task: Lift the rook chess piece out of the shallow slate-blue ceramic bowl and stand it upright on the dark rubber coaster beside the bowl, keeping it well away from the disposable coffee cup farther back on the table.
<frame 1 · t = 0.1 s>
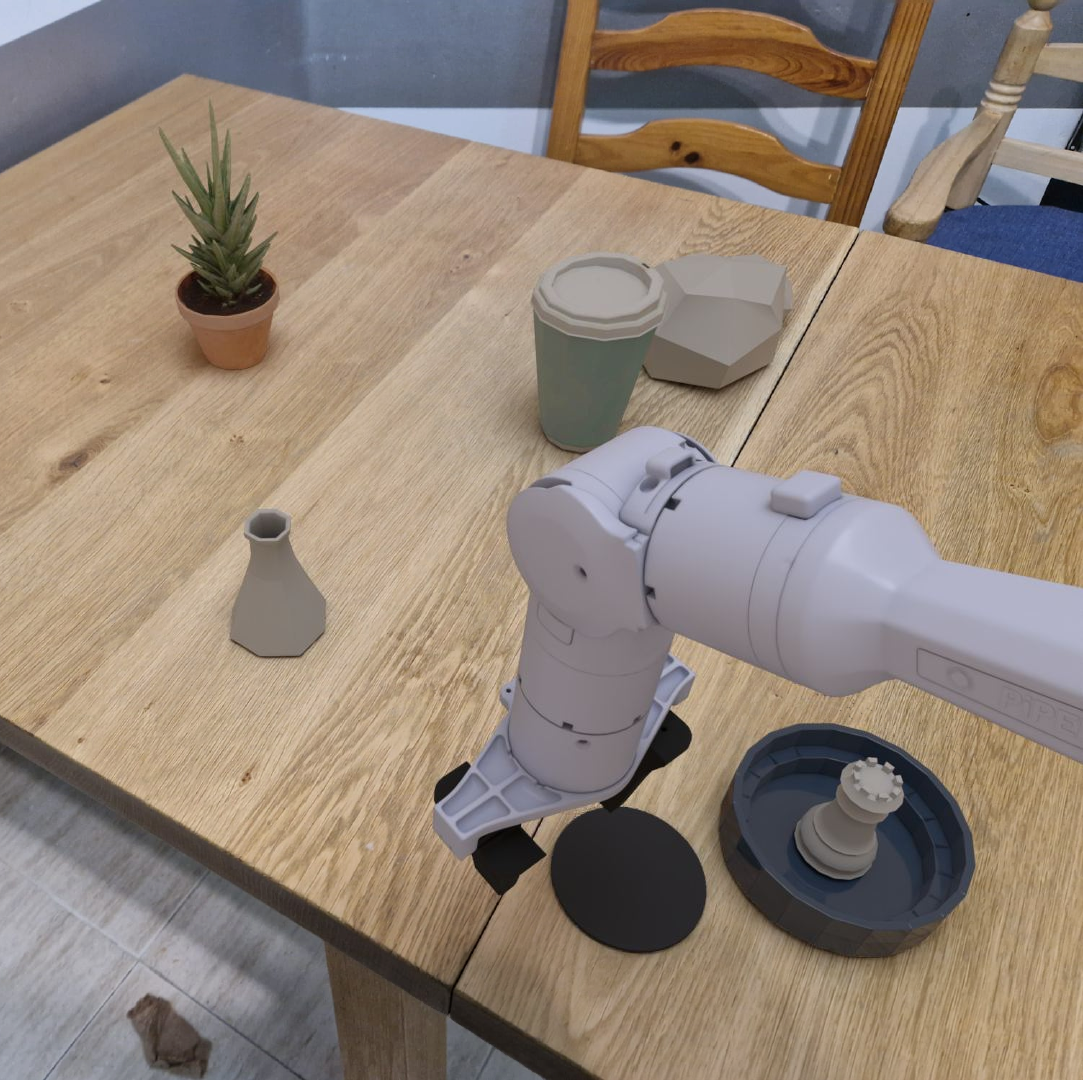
hand: (547, 835, 52), 9 cm above the table, tool pointing down, fingers open, 7 cm apart
coaster: (626, 877, 59), on the table
disposable coffee cup: (575, 430, 89), on the table
bowl: (828, 851, 60), on the table
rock: (709, 341, 98), on the table
potted plant: (237, 354, 98), on the table
rook chess piece: (830, 849, 60), resting on bowl
flask: (278, 622, 74), on the table
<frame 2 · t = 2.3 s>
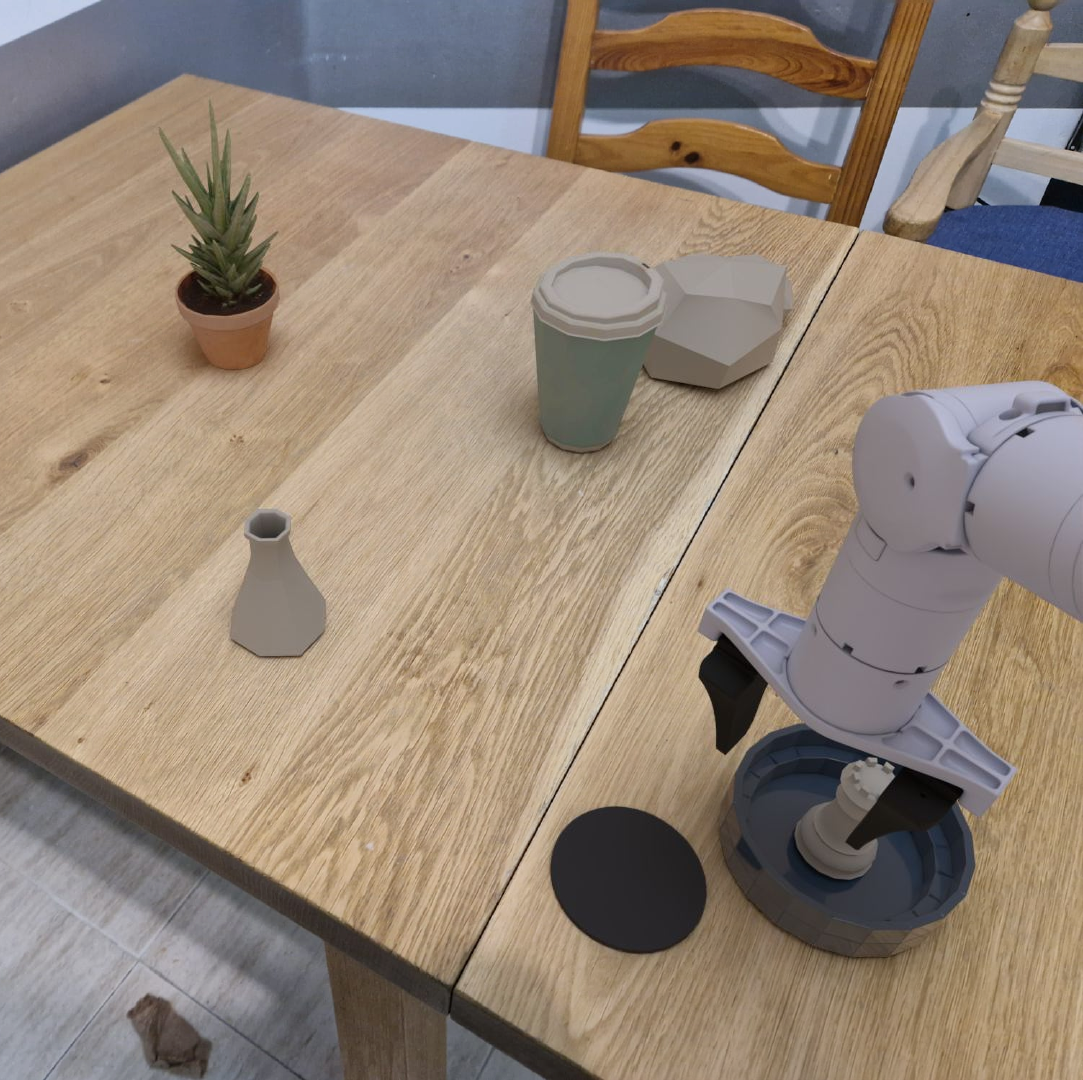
hand: (793, 786, 53), 9 cm above the table, tool pointing down, fingers open, 7 cm apart
nothing on the table moved.
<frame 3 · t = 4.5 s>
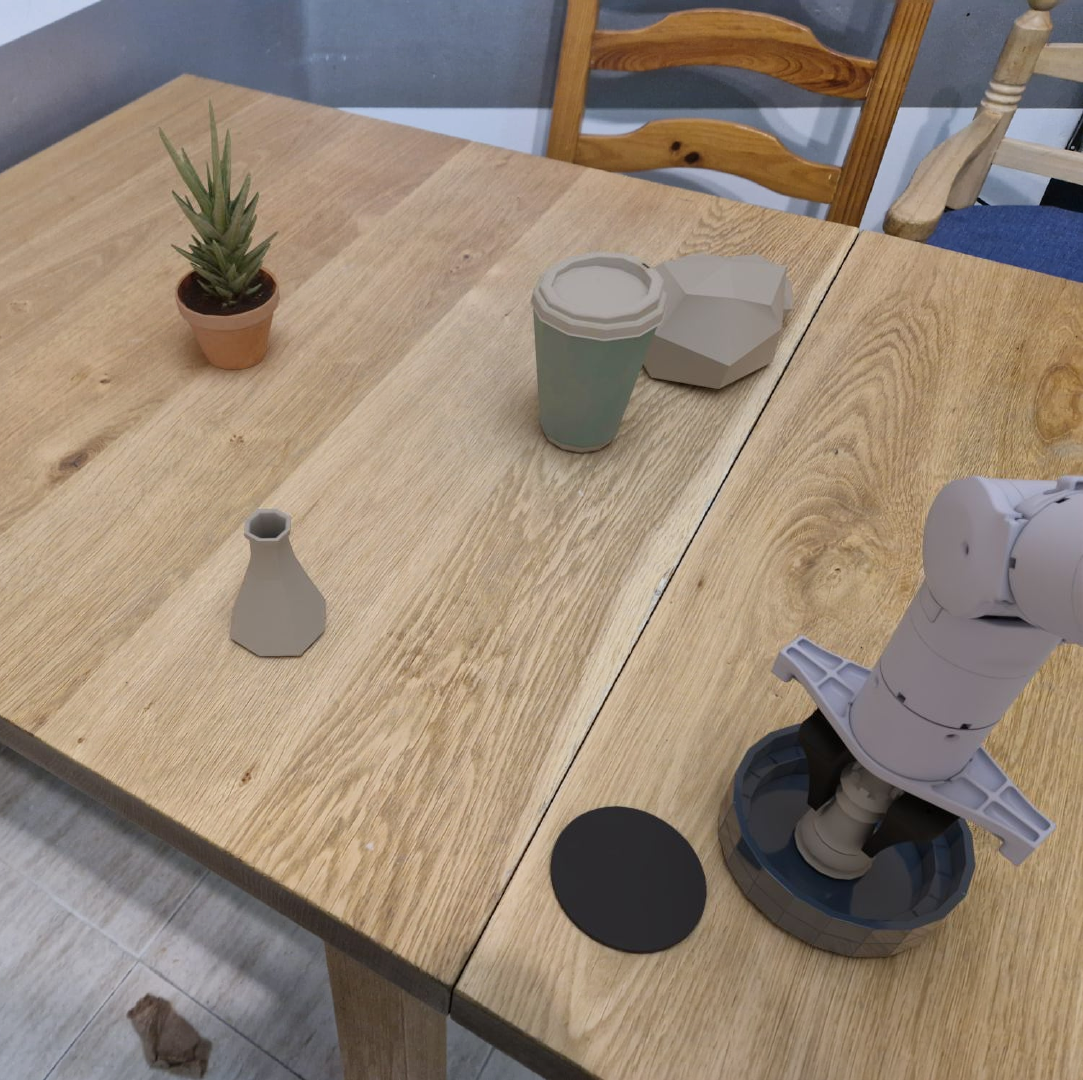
hand: (848, 821, 58), 4 cm above the table, tool pointing down, fingers closed on rook chess piece, 3 cm apart
rook chess piece: (830, 849, 60), resting on bowl, touching gripper
everything else where it was.
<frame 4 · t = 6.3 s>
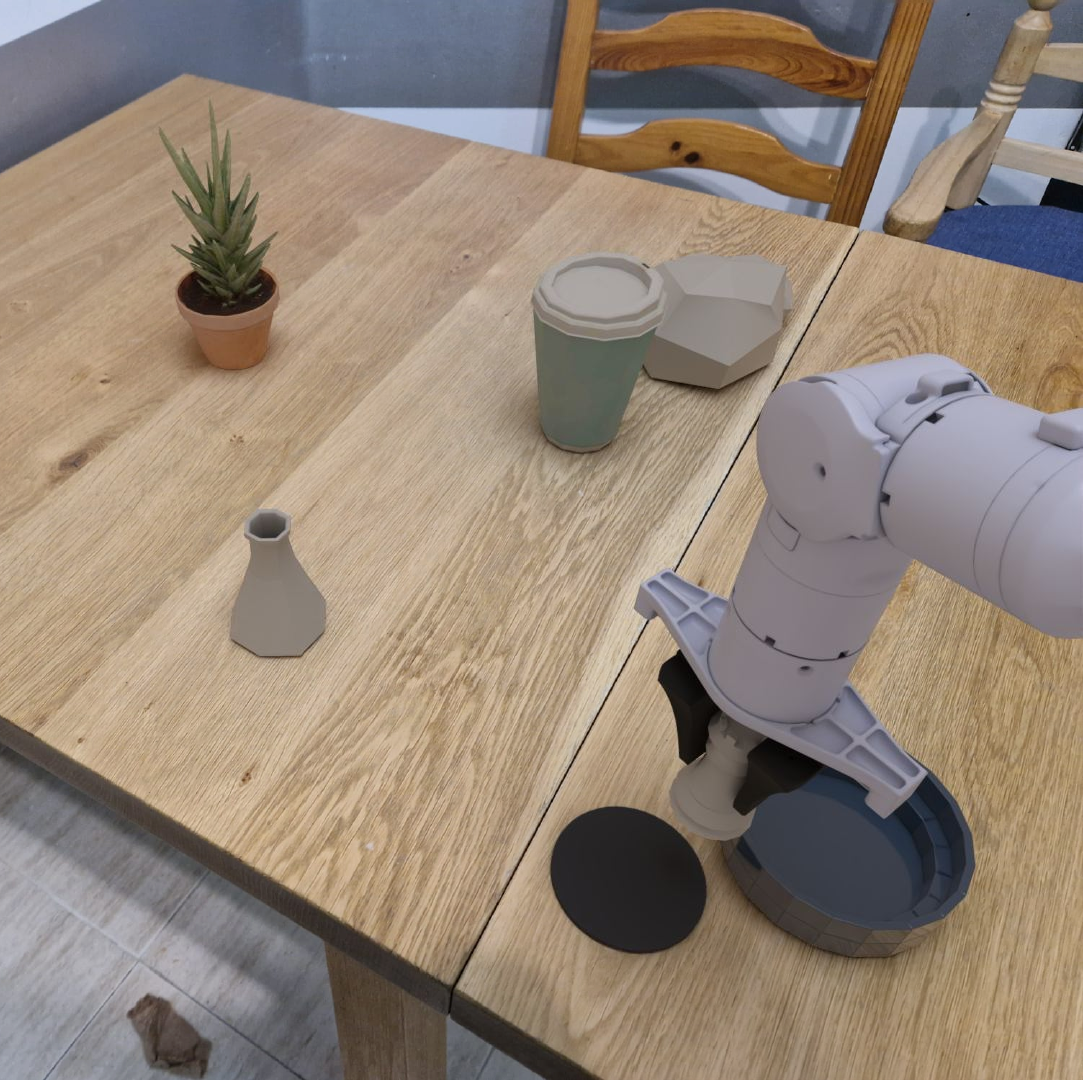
hand: (723, 776, 52), 10 cm above the table, tool pointing down, fingers closed on rook chess piece, 3 cm apart
rook chess piece: (708, 809, 55), point 7 cm above the table, touching gripper
everything else where it was.
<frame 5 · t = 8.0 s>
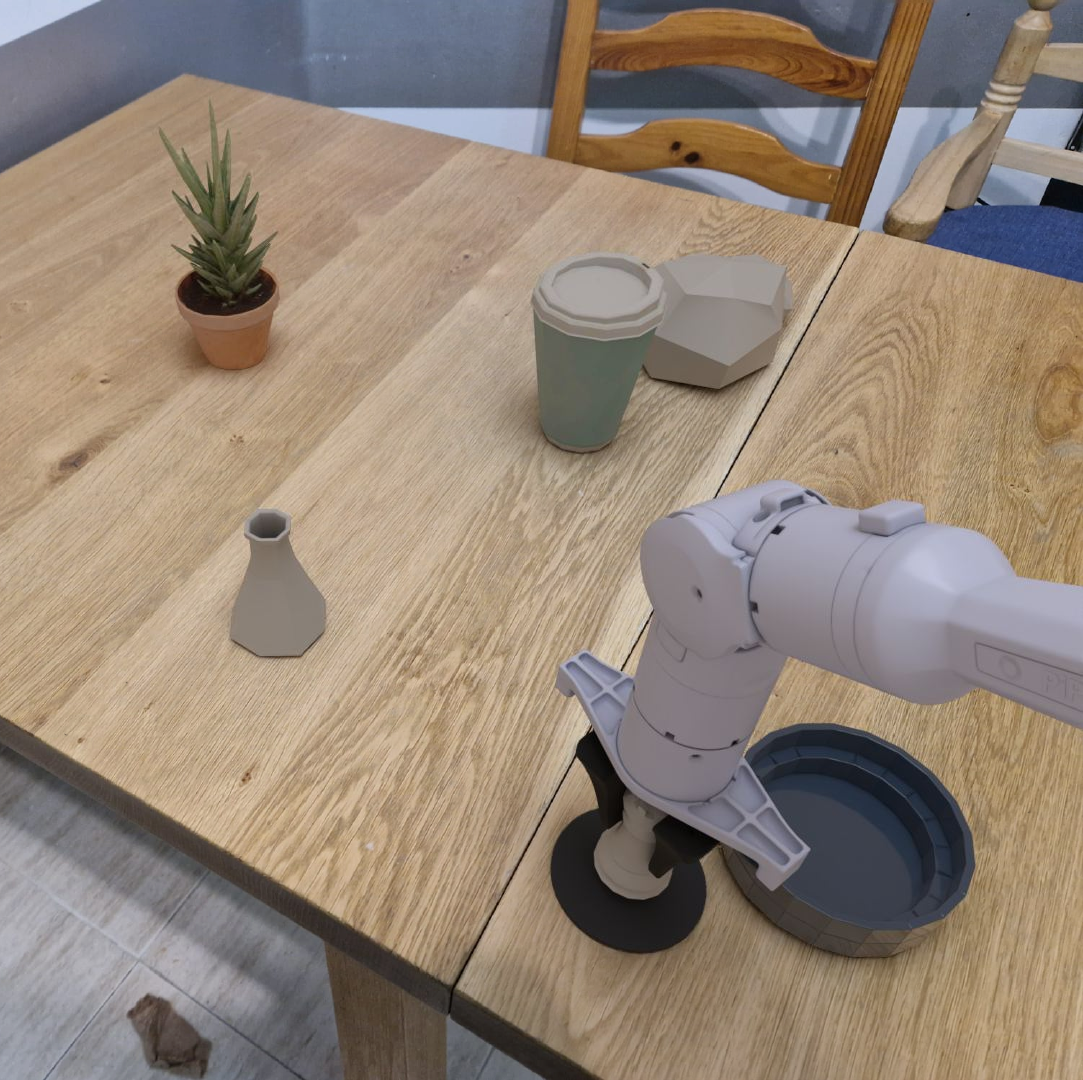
hand: (641, 840, 56), 5 cm above the table, tool pointing down, fingers closed on rook chess piece, 3 cm apart
rook chess piece: (630, 868, 59), point 1 cm above the table, touching gripper
everything else where it was.
when the fingers open (4 cm above the table, at t = 8.6 s): rook chess piece stays where it is, resting on coaster.
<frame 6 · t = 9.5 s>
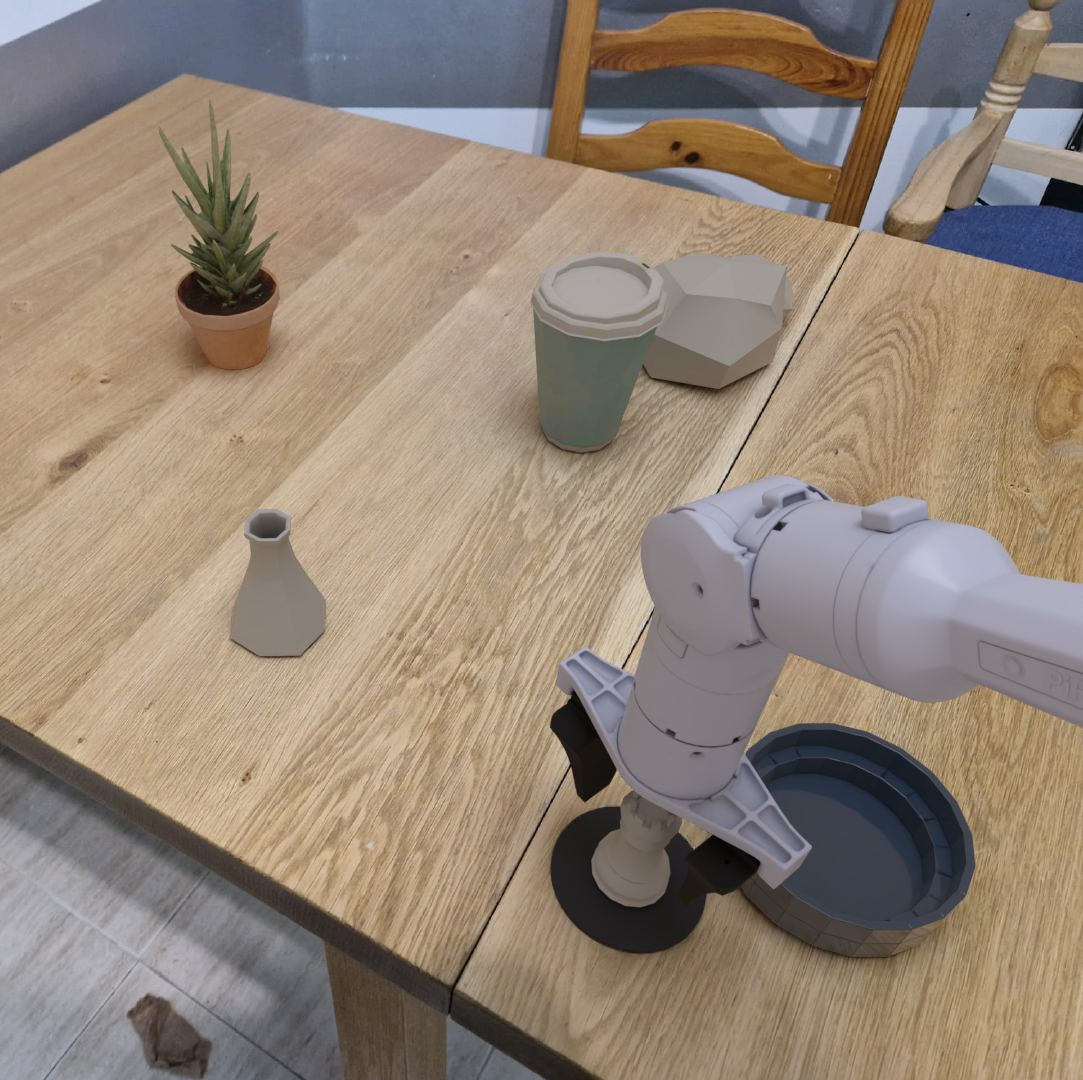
hand: (642, 838, 56), 5 cm above the table, tool pointing down, fingers open, 7 cm apart
rook chess piece: (627, 875, 59), resting on coaster
everything else where it was.
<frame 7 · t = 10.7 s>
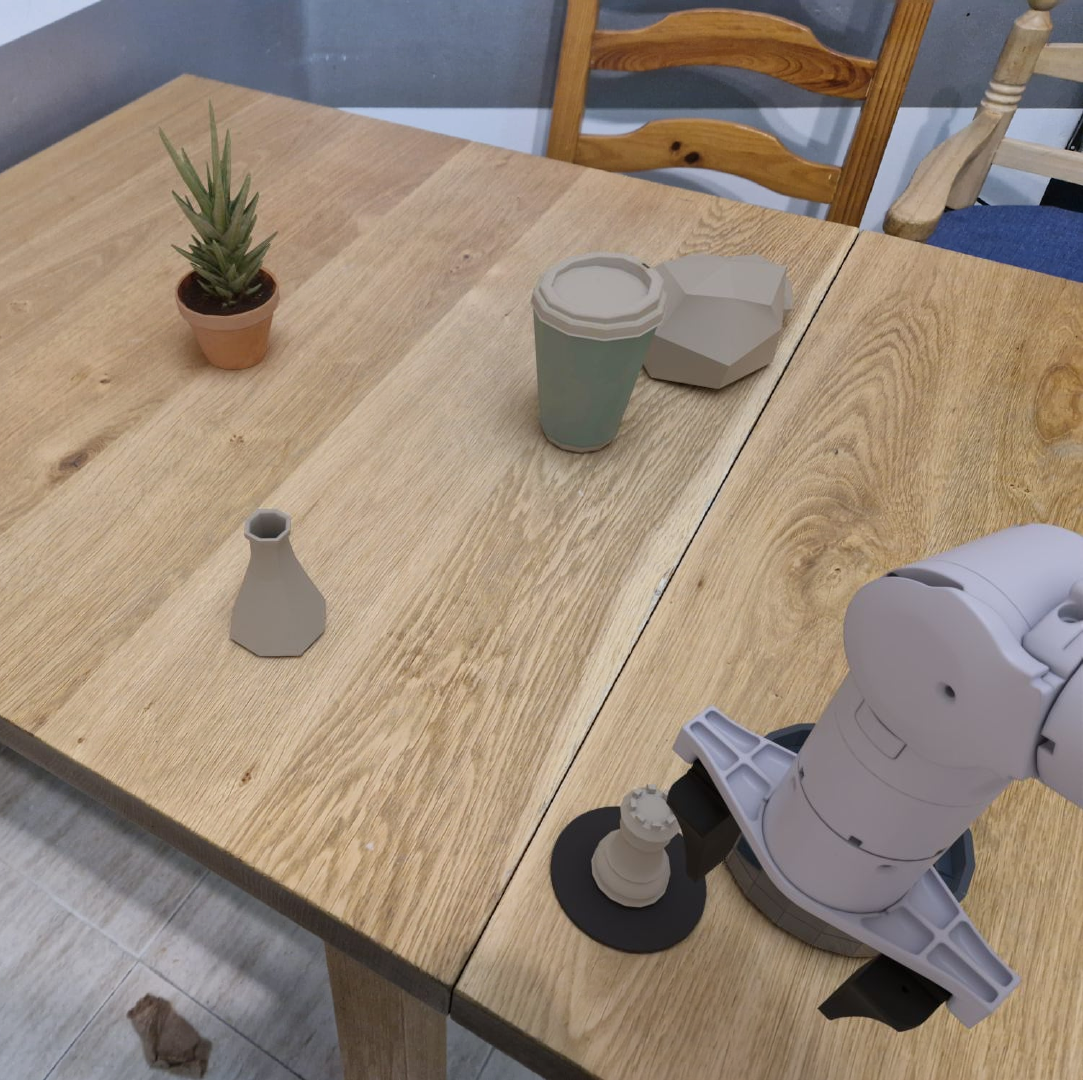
hand: (767, 930, 47), 10 cm above the table, tool pointing down, fingers open, 7 cm apart
nothing on the table moved.
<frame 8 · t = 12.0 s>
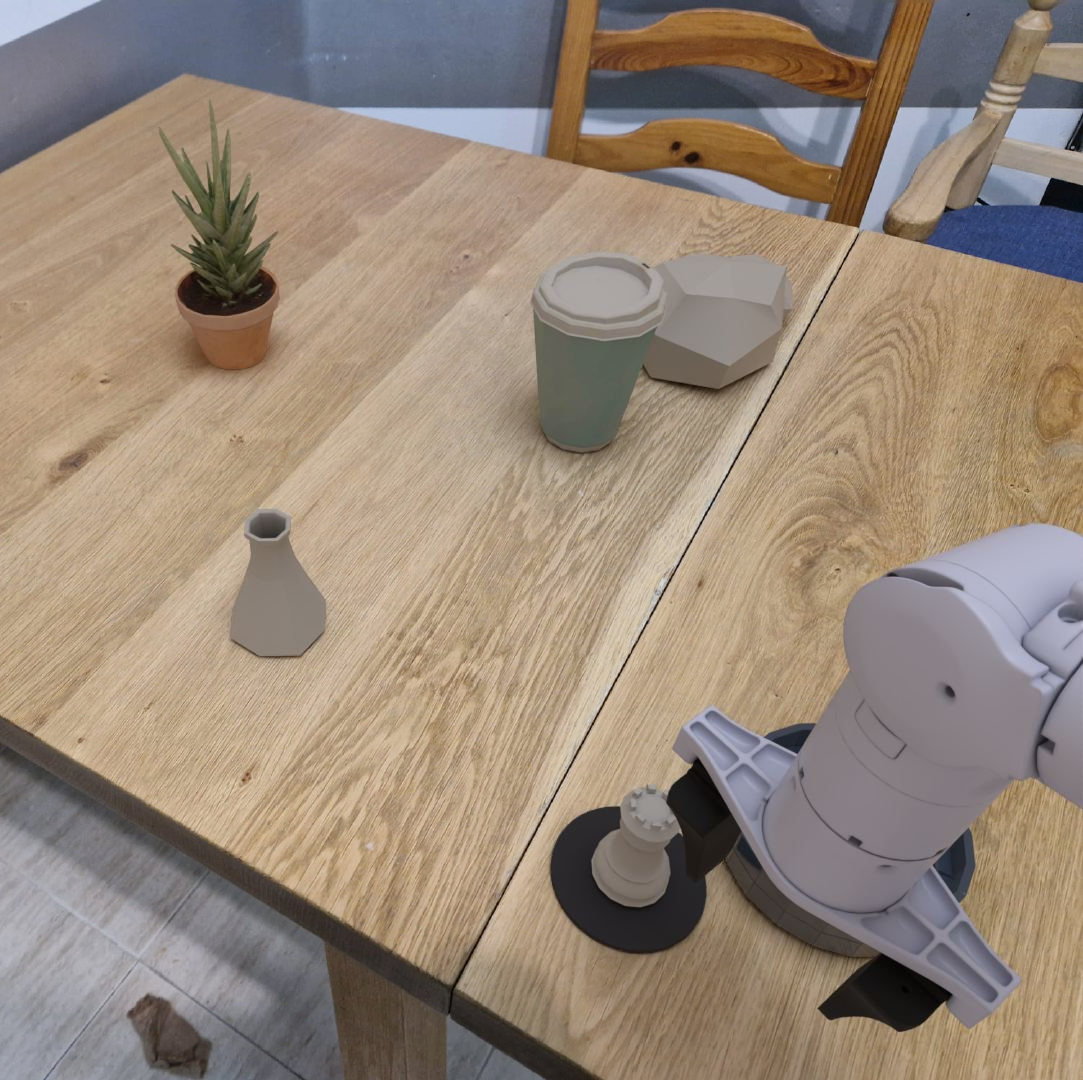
hand: (767, 930, 47), 10 cm above the table, tool pointing down, fingers open, 7 cm apart
nothing on the table moved.
at the end: rook chess piece 0.0 cm off-centre on the coaster, point 0.2 cm above the coaster's base; rook chess piece tilted 0°; rook chess piece touching coaster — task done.
